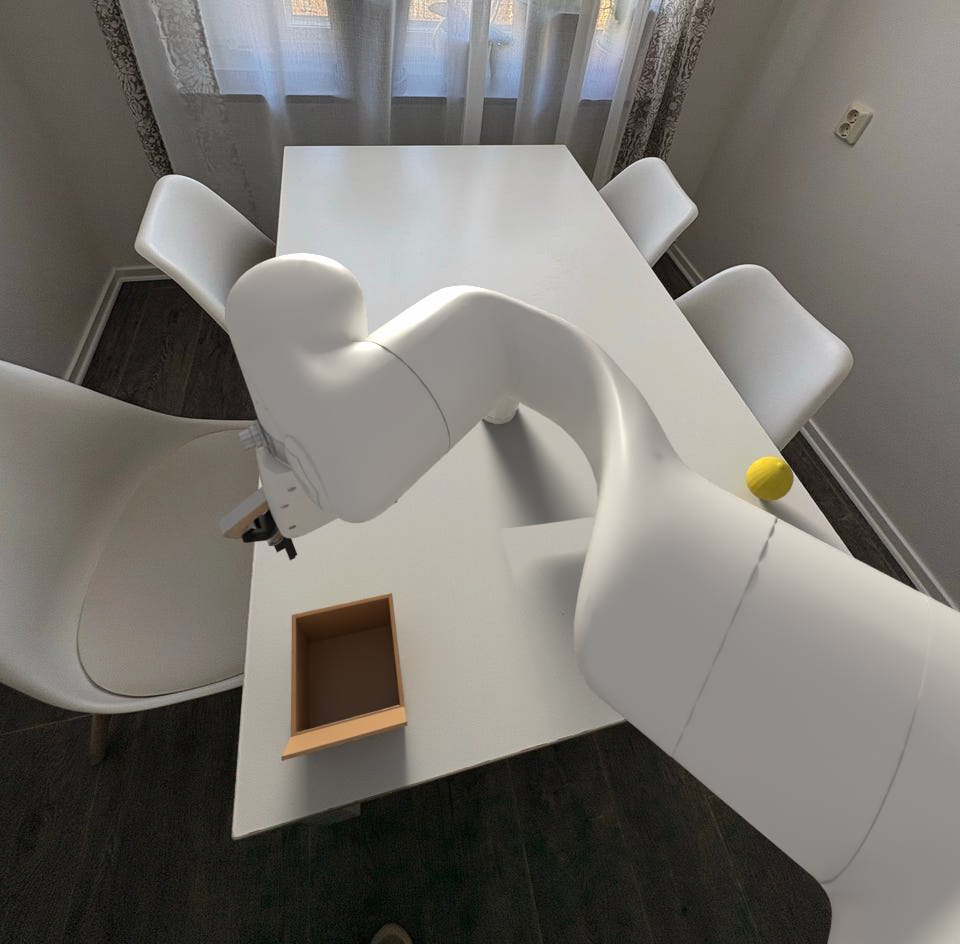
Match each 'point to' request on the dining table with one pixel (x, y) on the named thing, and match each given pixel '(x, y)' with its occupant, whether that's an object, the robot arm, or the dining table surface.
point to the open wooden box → (344, 664)
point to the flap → (344, 733)
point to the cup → (502, 411)
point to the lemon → (769, 478)
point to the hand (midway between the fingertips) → (339, 516)
